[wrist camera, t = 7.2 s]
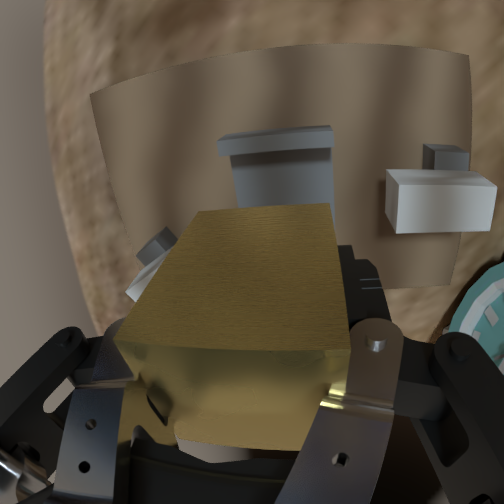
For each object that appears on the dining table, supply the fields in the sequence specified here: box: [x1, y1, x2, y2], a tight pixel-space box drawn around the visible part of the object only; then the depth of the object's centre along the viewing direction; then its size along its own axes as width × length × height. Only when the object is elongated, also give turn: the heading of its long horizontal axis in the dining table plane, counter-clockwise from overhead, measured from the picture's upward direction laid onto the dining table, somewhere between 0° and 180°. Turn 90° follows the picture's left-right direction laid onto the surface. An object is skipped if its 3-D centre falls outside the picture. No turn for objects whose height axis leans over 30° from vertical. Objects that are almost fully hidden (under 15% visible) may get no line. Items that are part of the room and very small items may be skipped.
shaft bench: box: [90, 44, 497, 302], centre depth 17 cm, size 25×17×6 cm
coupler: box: [113, 203, 351, 451], centre depth 9 cm, size 4×4×6 cm
